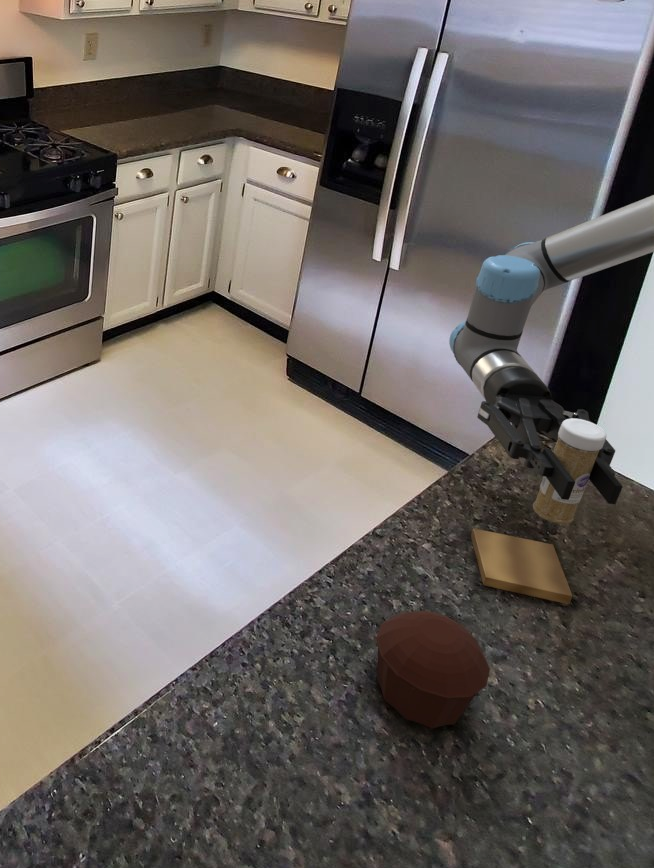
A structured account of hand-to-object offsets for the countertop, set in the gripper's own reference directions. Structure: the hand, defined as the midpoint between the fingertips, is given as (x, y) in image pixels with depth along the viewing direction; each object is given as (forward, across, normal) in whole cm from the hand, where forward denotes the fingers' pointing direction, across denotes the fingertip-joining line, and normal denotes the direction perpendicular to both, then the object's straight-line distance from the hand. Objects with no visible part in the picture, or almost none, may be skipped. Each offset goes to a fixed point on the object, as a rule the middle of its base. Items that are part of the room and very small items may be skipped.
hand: (591, 492), depth 95 cm
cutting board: (-8, 0, -20) cm, 21 cm away
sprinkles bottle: (-5, 0, -8) cm, 10 cm away
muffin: (+15, +20, -20) cm, 32 cm away
